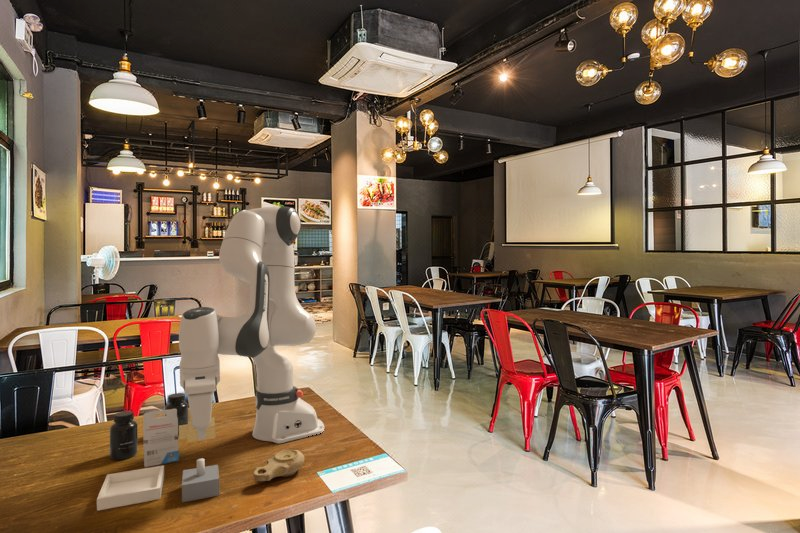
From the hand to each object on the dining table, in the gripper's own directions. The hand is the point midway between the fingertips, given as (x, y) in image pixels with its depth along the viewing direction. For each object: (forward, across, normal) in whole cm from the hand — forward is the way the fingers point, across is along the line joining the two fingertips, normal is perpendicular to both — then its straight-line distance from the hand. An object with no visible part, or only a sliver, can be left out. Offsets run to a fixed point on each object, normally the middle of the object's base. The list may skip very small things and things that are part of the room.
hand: (201, 432), depth 112 cm
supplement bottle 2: (+15, -42, -7) cm, 46 cm away
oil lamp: (+15, +1, +18) cm, 24 cm away
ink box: (+15, -21, -10) cm, 28 cm away
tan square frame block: (+1, 0, 0) cm, 1 cm away
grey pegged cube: (+14, +1, 0) cm, 14 cm away
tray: (+14, -5, -16) cm, 22 cm away
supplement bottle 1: (+15, -29, -20) cm, 39 cm away
